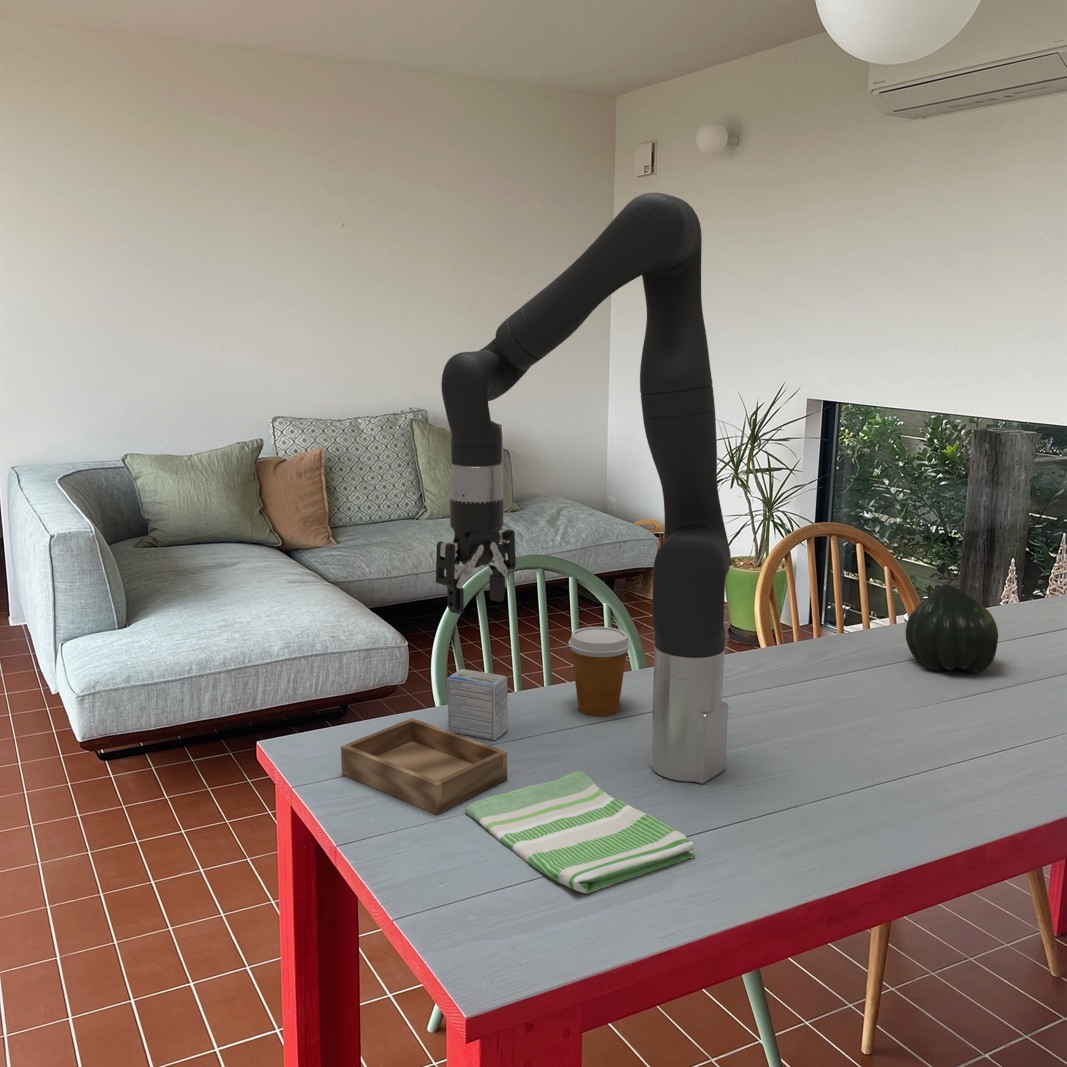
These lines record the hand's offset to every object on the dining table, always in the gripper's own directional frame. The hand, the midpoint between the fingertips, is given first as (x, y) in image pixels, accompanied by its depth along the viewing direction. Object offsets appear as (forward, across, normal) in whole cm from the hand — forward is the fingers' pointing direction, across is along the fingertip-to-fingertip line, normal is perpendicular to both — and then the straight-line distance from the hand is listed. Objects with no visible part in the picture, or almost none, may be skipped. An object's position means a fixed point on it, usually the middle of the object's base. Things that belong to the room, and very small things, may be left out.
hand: (477, 606), depth 151 cm
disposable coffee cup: (+19, +19, -8) cm, 28 cm away
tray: (+19, -16, -5) cm, 25 cm away
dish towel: (+20, -15, -30) cm, 39 cm away
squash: (+19, +75, -43) cm, 89 cm away
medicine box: (+20, 0, 0) cm, 20 cm away
